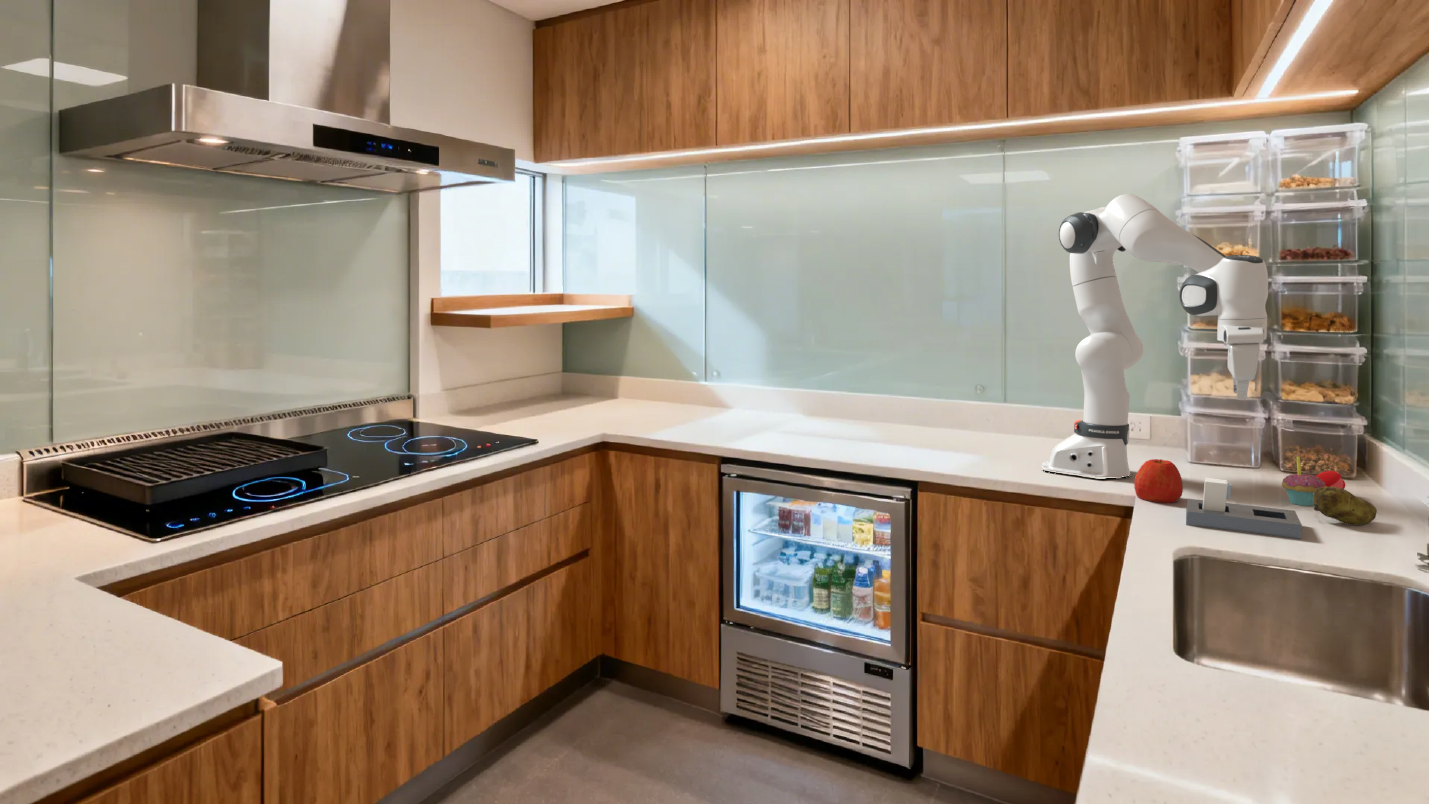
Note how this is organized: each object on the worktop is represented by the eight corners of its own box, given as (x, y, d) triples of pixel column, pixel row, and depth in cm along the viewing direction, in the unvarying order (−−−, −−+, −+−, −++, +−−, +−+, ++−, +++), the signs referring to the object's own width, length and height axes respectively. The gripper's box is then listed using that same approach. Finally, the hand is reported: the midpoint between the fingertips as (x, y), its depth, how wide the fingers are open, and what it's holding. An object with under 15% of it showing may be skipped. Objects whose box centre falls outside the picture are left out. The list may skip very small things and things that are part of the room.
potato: (1389, 530, 170) (1393, 494, 169) (1318, 526, 174) (1322, 490, 173) (1368, 519, 178) (1373, 484, 177) (1301, 515, 182) (1305, 481, 181)
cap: (1330, 478, 203) (1310, 466, 203) (1352, 475, 197) (1331, 463, 197) (1320, 505, 201) (1300, 493, 201) (1341, 504, 195) (1321, 491, 195)
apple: (1140, 505, 190) (1144, 462, 188) (1126, 494, 200) (1130, 453, 198) (1188, 508, 188) (1192, 464, 186) (1171, 496, 198) (1175, 454, 196)
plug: (1201, 522, 175) (1205, 481, 173) (1201, 517, 178) (1205, 477, 177) (1227, 525, 172) (1231, 484, 171) (1226, 520, 176) (1230, 480, 174)
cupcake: (1291, 507, 188) (1296, 457, 187) (1272, 497, 197) (1277, 449, 195) (1332, 508, 187) (1338, 458, 185) (1311, 499, 195) (1316, 450, 194)
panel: (1185, 527, 173) (1187, 511, 172) (1185, 513, 183) (1186, 498, 183) (1300, 542, 163) (1301, 525, 162) (1293, 526, 173) (1294, 510, 173)
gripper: (1221, 328, 182) (1219, 389, 184) (1227, 336, 164) (1225, 403, 166) (1254, 327, 179) (1252, 389, 181) (1264, 335, 161) (1262, 403, 163)
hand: (1239, 396), depth 173 cm, fingers open, 8 cm apart
